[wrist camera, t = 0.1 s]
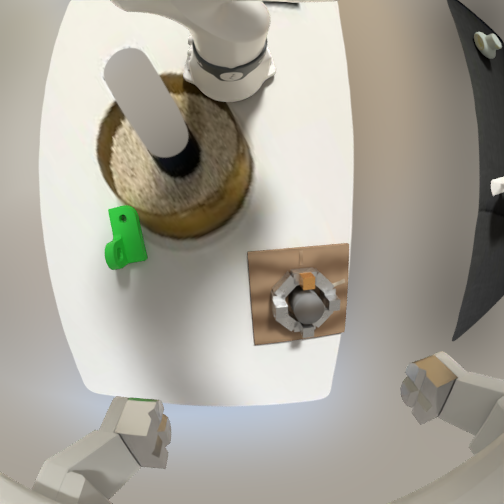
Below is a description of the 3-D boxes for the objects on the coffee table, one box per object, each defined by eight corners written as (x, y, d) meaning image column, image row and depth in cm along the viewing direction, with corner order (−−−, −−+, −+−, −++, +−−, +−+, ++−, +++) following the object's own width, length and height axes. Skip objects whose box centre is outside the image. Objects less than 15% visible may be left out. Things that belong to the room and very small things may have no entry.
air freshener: (468, 31, 44) (485, 24, 34) (480, 38, 44) (497, 32, 34) (478, 56, 46) (496, 50, 37) (490, 62, 47) (507, 57, 37)
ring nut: (269, 271, 57) (274, 281, 51) (331, 265, 57) (341, 273, 52) (272, 328, 60) (276, 342, 54) (329, 320, 61) (338, 332, 55)
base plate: (247, 251, 57) (250, 262, 49) (347, 243, 58) (363, 251, 50) (254, 342, 62) (257, 362, 54) (342, 330, 63) (355, 346, 55)
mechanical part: (147, 258, 55) (135, 269, 48) (123, 262, 55) (109, 273, 48) (136, 202, 52) (122, 205, 45) (111, 208, 52) (95, 212, 45)
